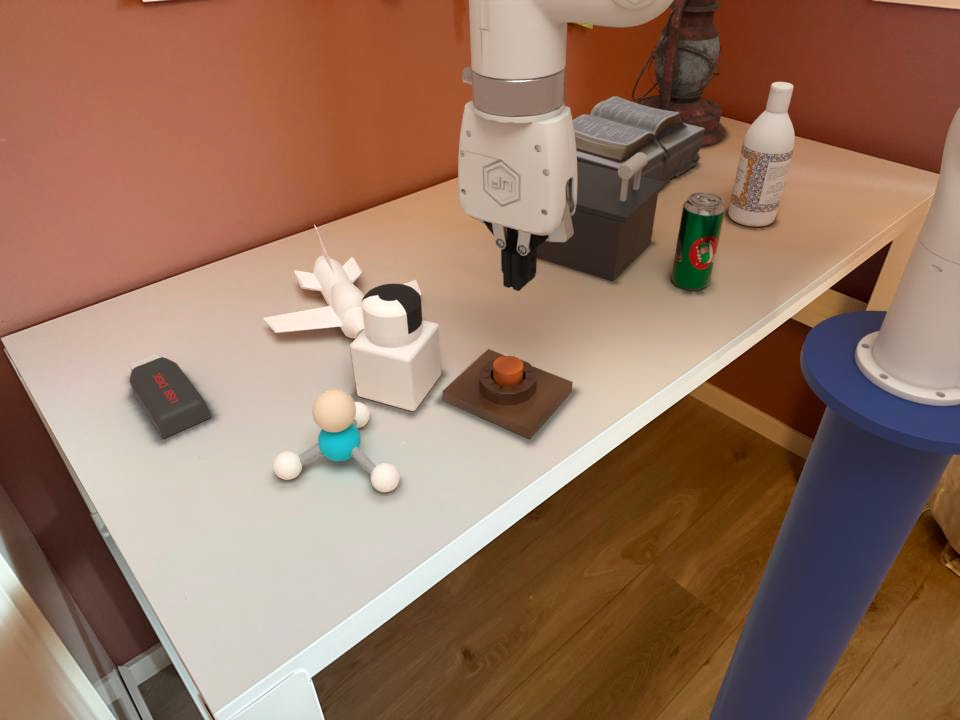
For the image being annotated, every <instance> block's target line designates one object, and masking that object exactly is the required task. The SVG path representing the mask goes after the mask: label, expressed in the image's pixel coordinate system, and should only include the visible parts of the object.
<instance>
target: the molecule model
mask: <svg viewBox="0 0 960 720" xmlns="http://www.w3.org/2000/svg"><path fill="white" fill-rule="evenodd" d="M311 416H312V418H313V421H314V422H315V424H316V425H317V426H318V427H319V428H320V429H321V430H320V431H319V432H318V437H317V443H316V444H315V445H312V446H311V447H310V448H308V449H307V450H305V451H303V452H301V453H300V454H298V453H297V452H295V451H293V450H285V451H282V452H280V453H278V454H277V455H276V456H275V458H274V459H273V462H272V469H273V471H274V474H275V475H276V476H277V477H278V478H280V479H282V480H286V481H289V480H293V479H295V478H297V477H298V476H299V475H300V473H301V472H302V470H303V466H304V465H305V464H307V463H309V462H310V461H312V460H314V459H315V458H317V457H318V456H320V455H321V454H322V455H323V456H324V457H325V458H327V459H329V460H330V461H333V462H345V461H347V460H350V459H352V458H353V459H354V460H355V461H356V462H357V463H358V464H359V465H360V466H361V467H362V468H363V470H365V472H367V473H368V474H369V475H370V483H371V485H372V487H373V488H374V489H375V490H376V491H378V492H380V493H389V492H392V491H393V490H395V489H396V488H397V487H398V485H399V484H400V479H401V475H400V474H401V473H400V471H399V469H398V468H397V467H396V466H395V465H394V464H392V463H390V462H381V463H379V464H377V465H376V464H375V463H374V462H373V461H372V460H371V459H370V458H369V457H368V456H367V455H366V454H365V453H364V452H363V451H362V450H361V449H360V446H361V434H360V431H359V429H361V428H363V427H365V426H366V425H367V424H368V422H369V420H370V416H371V415H370V409H369V408H368V406H367V405H366V404H364V403H363V402H359V401H354V398H353V397H352V396H351V395H350V394H349V393H347V392H346V391H344V390H342V389H336V388H333V389H332V388H331V389H327V390H325V391H323V392H321V393H320V394H318V395H317V396H316V398H315V400H314V401H313V404H312V408H311Z"/></svg>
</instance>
